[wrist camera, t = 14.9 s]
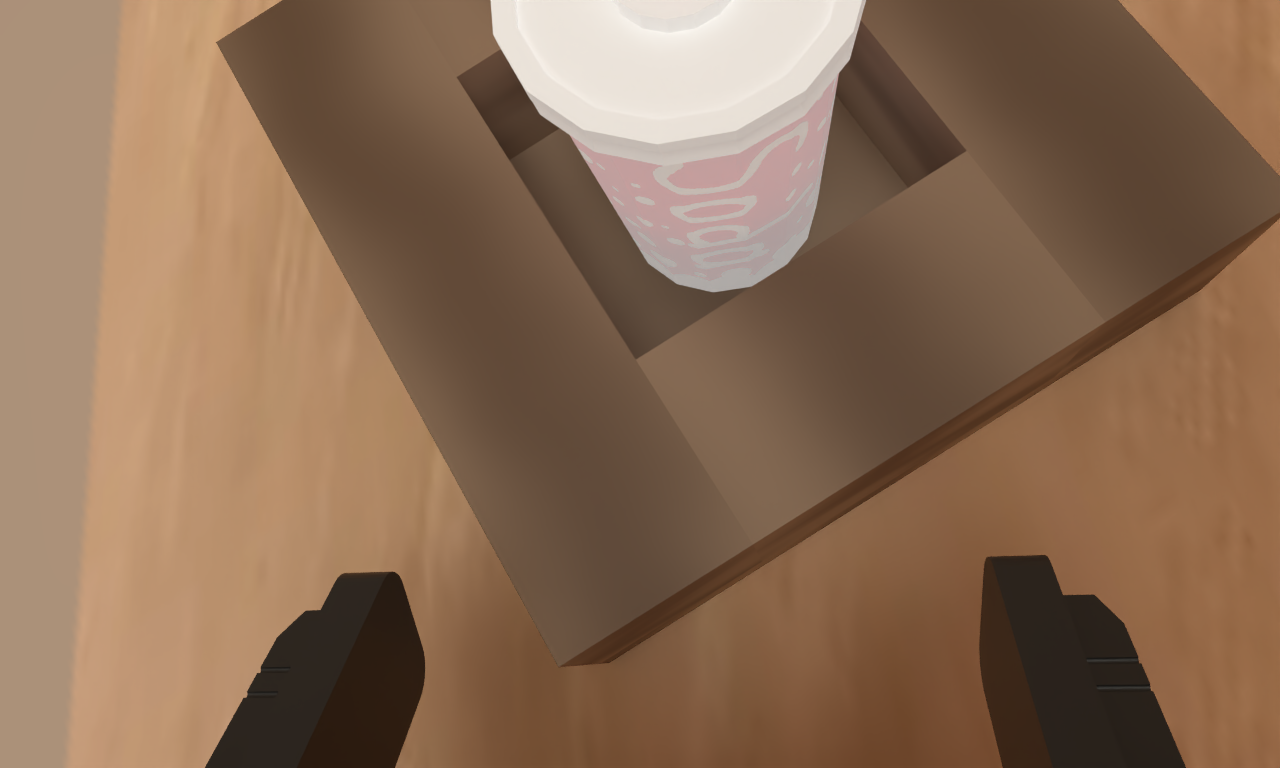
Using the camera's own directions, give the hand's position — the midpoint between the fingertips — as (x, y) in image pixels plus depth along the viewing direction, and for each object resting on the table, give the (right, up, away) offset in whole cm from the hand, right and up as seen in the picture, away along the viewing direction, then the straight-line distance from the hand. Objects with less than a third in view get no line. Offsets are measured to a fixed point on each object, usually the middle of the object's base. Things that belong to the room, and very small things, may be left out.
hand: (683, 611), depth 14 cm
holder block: (+1, +8, +12) cm, 14 cm away
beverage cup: (+1, +7, +11) cm, 13 cm away
